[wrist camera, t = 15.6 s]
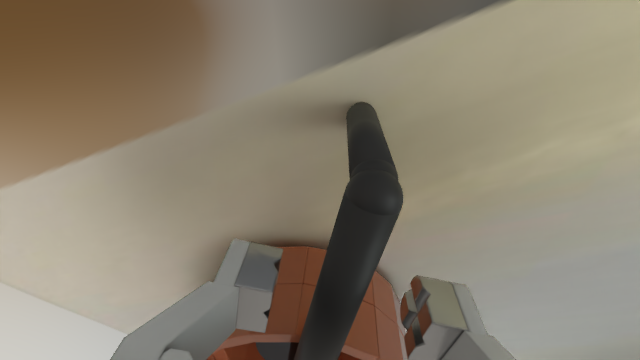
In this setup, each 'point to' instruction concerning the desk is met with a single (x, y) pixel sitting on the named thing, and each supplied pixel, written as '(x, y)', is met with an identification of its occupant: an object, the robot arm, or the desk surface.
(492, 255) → the desk surface
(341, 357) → the flower pot
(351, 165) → the door handle
